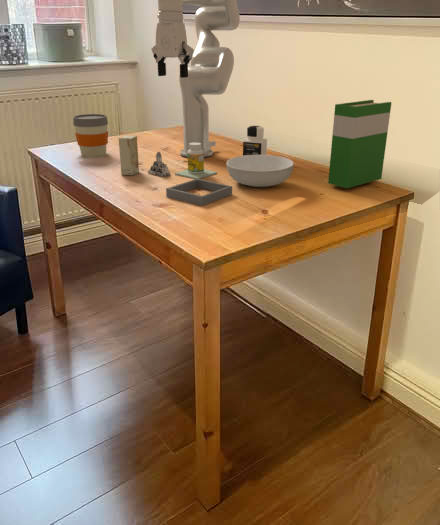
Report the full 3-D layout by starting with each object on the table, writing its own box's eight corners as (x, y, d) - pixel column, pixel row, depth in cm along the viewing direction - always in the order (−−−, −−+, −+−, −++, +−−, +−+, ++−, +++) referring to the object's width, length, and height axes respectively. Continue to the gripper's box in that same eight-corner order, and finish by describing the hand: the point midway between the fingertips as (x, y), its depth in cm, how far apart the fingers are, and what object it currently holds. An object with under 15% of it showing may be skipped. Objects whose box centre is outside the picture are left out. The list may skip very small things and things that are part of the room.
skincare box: (133, 176, 170) (130, 138, 165) (120, 175, 171) (117, 138, 166) (139, 171, 176) (137, 135, 171) (127, 170, 177) (125, 134, 172)
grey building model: (184, 174, 173) (184, 151, 170) (165, 179, 168) (164, 155, 165) (167, 169, 179) (166, 147, 176) (147, 174, 173) (146, 151, 170)
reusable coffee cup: (116, 158, 194) (112, 117, 188) (84, 162, 188) (79, 120, 181) (103, 152, 203) (99, 113, 197) (72, 156, 197) (67, 115, 191)
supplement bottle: (207, 172, 173) (206, 143, 169) (196, 175, 169) (196, 146, 165) (195, 169, 176) (194, 141, 172) (184, 172, 172) (183, 143, 168)
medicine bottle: (242, 160, 191) (243, 127, 186) (248, 156, 197) (249, 124, 192) (260, 161, 189) (261, 128, 184) (266, 157, 195) (267, 125, 190)
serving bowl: (215, 178, 167) (215, 157, 164) (272, 172, 175) (273, 152, 172) (243, 196, 150) (244, 173, 147) (305, 188, 157) (306, 166, 154)
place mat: (194, 168, 179) (194, 167, 179) (216, 173, 173) (216, 172, 173) (174, 174, 172) (174, 173, 171) (197, 179, 166) (197, 178, 166)
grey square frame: (197, 186, 159) (197, 178, 158) (232, 194, 151) (232, 186, 150) (166, 196, 149) (166, 188, 148) (202, 205, 141) (202, 197, 140)
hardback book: (362, 174, 172) (371, 99, 163) (381, 178, 167) (391, 102, 157) (328, 183, 162) (335, 104, 152) (346, 188, 157) (355, 107, 147)
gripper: (142, 18, 161) (145, 76, 169) (183, 17, 152) (185, 78, 159) (159, 18, 167) (161, 74, 174) (200, 18, 157) (200, 77, 164)
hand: (173, 76), depth 166 cm, fingers open, 9 cm apart
